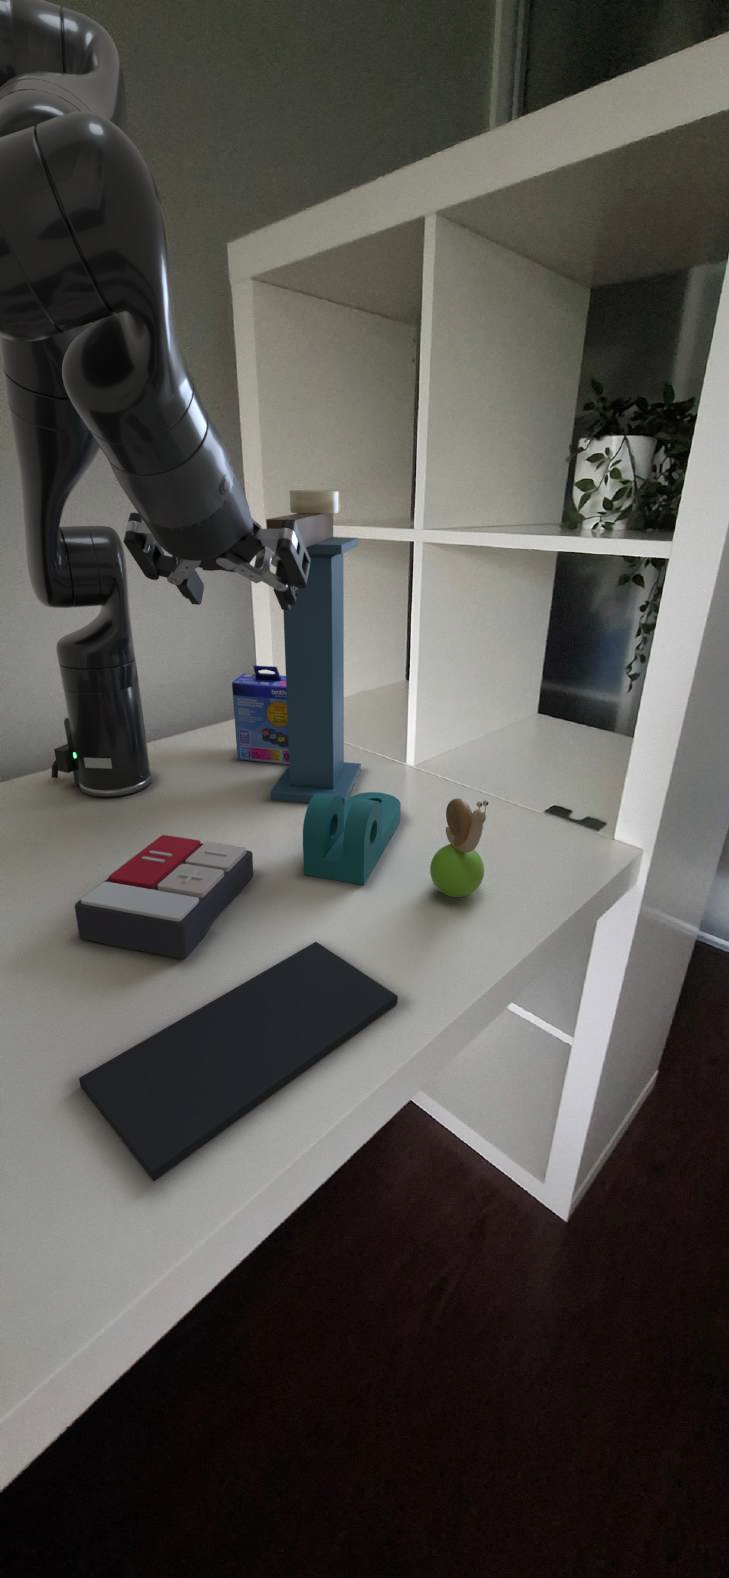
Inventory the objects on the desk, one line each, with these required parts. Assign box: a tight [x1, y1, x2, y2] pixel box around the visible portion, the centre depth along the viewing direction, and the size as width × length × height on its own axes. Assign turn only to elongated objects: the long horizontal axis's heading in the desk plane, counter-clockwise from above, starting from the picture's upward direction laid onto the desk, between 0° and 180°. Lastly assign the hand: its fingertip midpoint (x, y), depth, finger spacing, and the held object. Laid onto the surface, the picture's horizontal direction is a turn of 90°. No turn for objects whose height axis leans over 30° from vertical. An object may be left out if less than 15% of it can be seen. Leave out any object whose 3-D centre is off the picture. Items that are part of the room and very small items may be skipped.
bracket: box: [302, 791, 402, 886], centre depth 79 cm, size 18×7×8 cm, turn 163°
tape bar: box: [265, 489, 342, 547], centre depth 77 cm, size 18×6×5 cm, turn 170°
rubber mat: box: [78, 941, 399, 1181], centre depth 52 cm, size 22×10×1 cm, turn 135°
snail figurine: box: [429, 798, 489, 898], centre depth 68 cm, size 5×6×12 cm
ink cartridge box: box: [231, 665, 289, 766], centre depth 101 cm, size 10×6×14 cm, turn 79°
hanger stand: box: [269, 536, 362, 805], centre depth 89 cm, size 12×10×32 cm
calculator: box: [74, 834, 254, 959], centre depth 68 cm, size 11×4×15 cm
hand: (243, 598), depth 63 cm, fingers open, 8 cm apart
